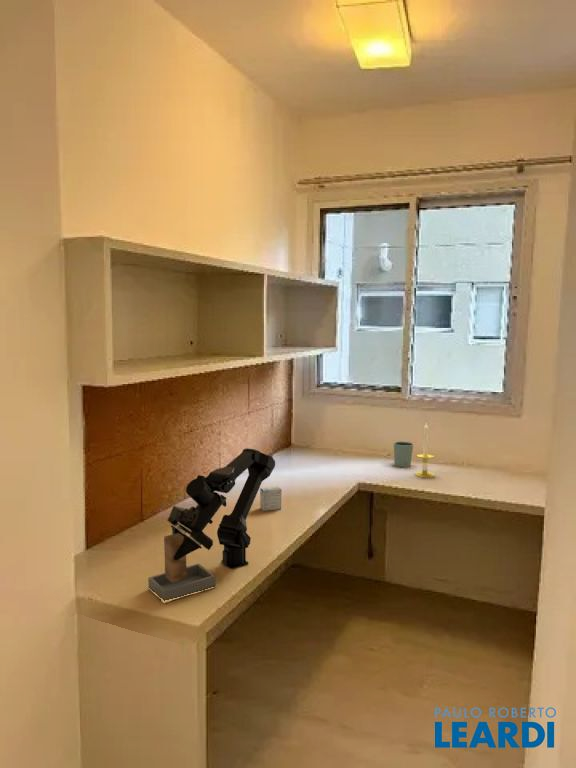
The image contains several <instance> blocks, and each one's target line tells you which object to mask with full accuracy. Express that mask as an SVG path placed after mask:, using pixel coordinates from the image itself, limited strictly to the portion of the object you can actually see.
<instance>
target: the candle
mask: <svg viewBox="0 0 576 768" xmlns="http://www.w3.org/2000/svg"><path fill="white" fill-rule="evenodd" d="M429 430H430V429H429V425H428V423H427V422H426V423H425V425H424V427H423V451H422V452H423V453H417V454H416V456H417V457H418V458H421V459H422V470H421V471H416V472H414V476H416V477H419V478H424V479H425V478H430V479H431V478H434V477H436V475H435V473H433V472H430V471H428V470H429V469H428V465H429V459H433V458H435V455H433V454H431V453H430V454H429V453H428V452H429Z"/></svg>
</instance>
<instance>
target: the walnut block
mask: <svg viewBox="0 0 576 768" xmlns="http://www.w3.org/2000/svg"><path fill="white" fill-rule="evenodd" d="M163 537H164V538H163V539H164V540H163V542H164V547H163V548H164V550H163V551H164V573H165V577H166V578H167V579H168V580H169V581H171V582H172V583H173V582H176V581H179V580H183V579H186V578H187V573H186V567H187V555H185V556H183V557H182V558H180V559H178V560H174V559H173V558H174V556H175V554H176V552H177V551H178V549H179V548H180V546H181V545H182V543H183V541H184V536H182V535H181V534H179V533H177V534H173V535H172V534H169V535H165V536H163Z"/></svg>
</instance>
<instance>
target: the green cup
mask: <svg viewBox="0 0 576 768" xmlns="http://www.w3.org/2000/svg"><path fill="white" fill-rule="evenodd" d="M413 448H414V443H413V442H409V441H400V440H399V441H395V442H393V457H394V459H393V460H394V463H393V464H394V466H395V467H397V468H410V467H411V465H412V456H413V454H412V453H413V450H414V449H413Z"/></svg>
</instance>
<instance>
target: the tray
mask: <svg viewBox="0 0 576 768" xmlns="http://www.w3.org/2000/svg"><path fill="white" fill-rule="evenodd" d="M186 573H187V578H186V579H183V580H179V581H176V582H173V583H172V582H171V581H169V580H168V579H167V578H166V577H165V572H163V573H160V574H157V575H152V576H149V577H148V578H147V579H148V589H149V588H150V589H151V590H152V591H153V592H155V593H156V594H157V595H158V596H159V597H160V598H162V599H163V600H164V601H165V600H169V599H173V598H177V597H181V596H184V595H187V594H191V593H194V592H198V591H202V590H205V589H208V588H211V587H215V586H216V575H215V574H213V573H212V572H211V571H209V570H208V569H206V567H204V566H202V565H201V564H200V563H195V564H192V565H188V566H186Z"/></svg>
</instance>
